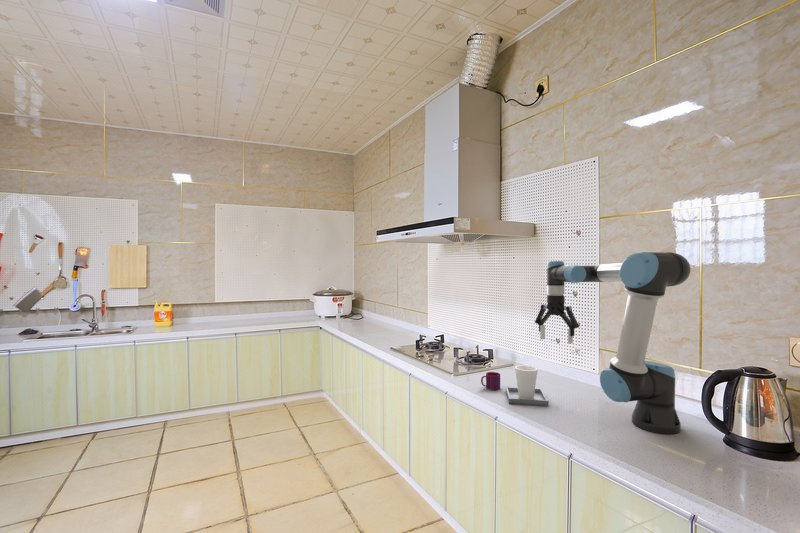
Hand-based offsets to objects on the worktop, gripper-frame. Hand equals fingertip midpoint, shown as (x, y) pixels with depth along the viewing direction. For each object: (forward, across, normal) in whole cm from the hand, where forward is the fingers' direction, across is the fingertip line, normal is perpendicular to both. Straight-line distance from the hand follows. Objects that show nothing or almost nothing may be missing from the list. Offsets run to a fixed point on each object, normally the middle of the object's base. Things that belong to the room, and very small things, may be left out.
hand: (556, 341), depth 178 cm
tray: (+24, +6, +15) cm, 29 cm away
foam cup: (+24, +6, +15) cm, 29 cm away
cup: (+24, +25, +16) cm, 39 cm away
